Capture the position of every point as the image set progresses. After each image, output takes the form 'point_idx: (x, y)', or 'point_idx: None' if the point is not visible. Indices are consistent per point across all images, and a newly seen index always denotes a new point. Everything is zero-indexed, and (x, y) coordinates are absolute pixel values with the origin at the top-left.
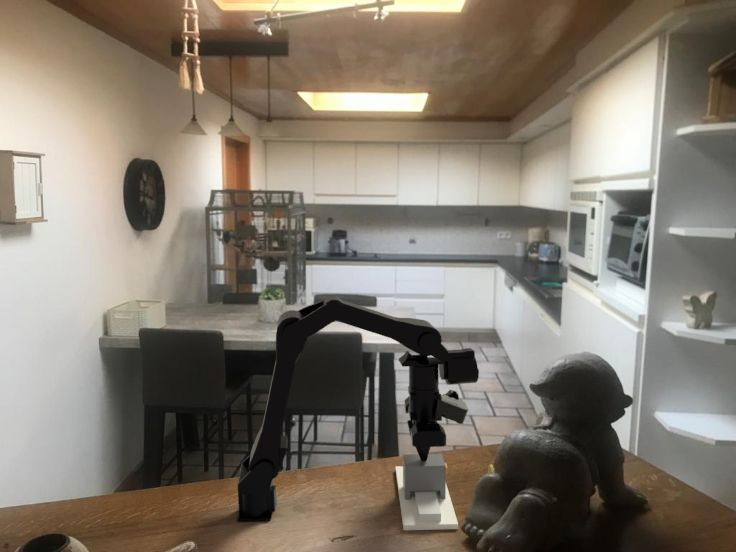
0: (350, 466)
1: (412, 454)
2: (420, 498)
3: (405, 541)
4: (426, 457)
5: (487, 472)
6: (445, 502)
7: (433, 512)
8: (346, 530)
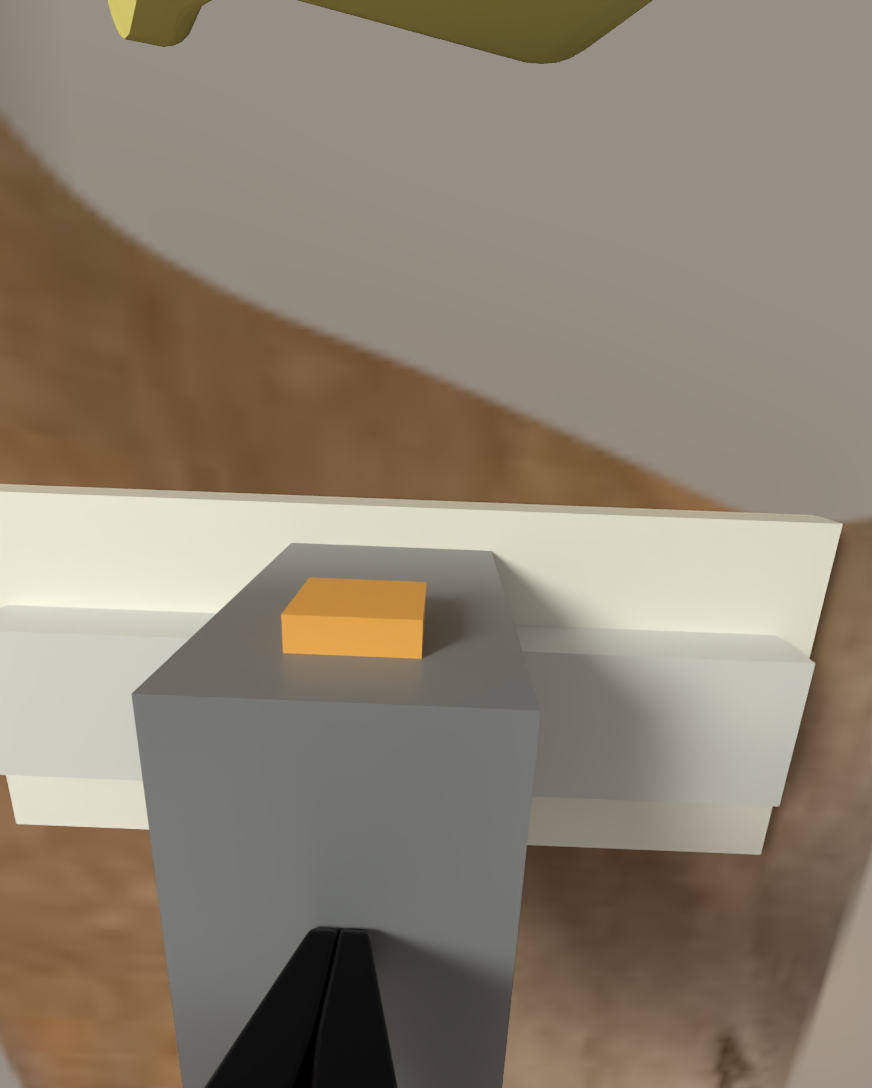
0: (21, 1023)
1: (182, 1047)
2: (572, 771)
3: (844, 829)
4: (376, 994)
5: (136, 3)
6: (543, 560)
7: (781, 712)
8: (675, 1060)
